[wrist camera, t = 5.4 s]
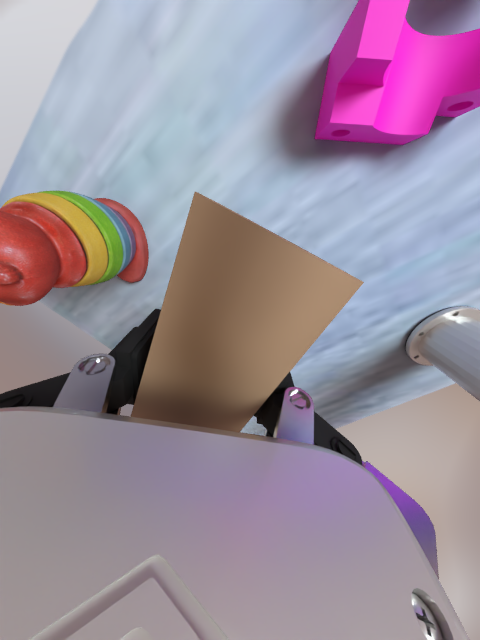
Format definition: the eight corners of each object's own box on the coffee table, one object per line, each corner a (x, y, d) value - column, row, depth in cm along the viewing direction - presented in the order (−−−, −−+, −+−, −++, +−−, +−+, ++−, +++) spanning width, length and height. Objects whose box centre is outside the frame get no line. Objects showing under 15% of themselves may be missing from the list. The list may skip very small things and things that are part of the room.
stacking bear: (69, 249, 27) (-155, 294, 12) (79, 176, 23) (-252, 96, 8) (141, 285, 30) (35, 360, 15) (162, 226, 26) (43, 243, 10)
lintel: (308, 251, 10) (363, 282, 5) (212, 406, 16) (201, 478, 12) (219, 203, 9) (194, 191, 4) (154, 389, 15) (118, 460, 11)
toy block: (313, 139, 21) (345, 106, 15) (329, 54, 18) (378, -35, 12) (440, 148, 22) (526, 118, 15) (477, 65, 19) (605, -17, 12)
